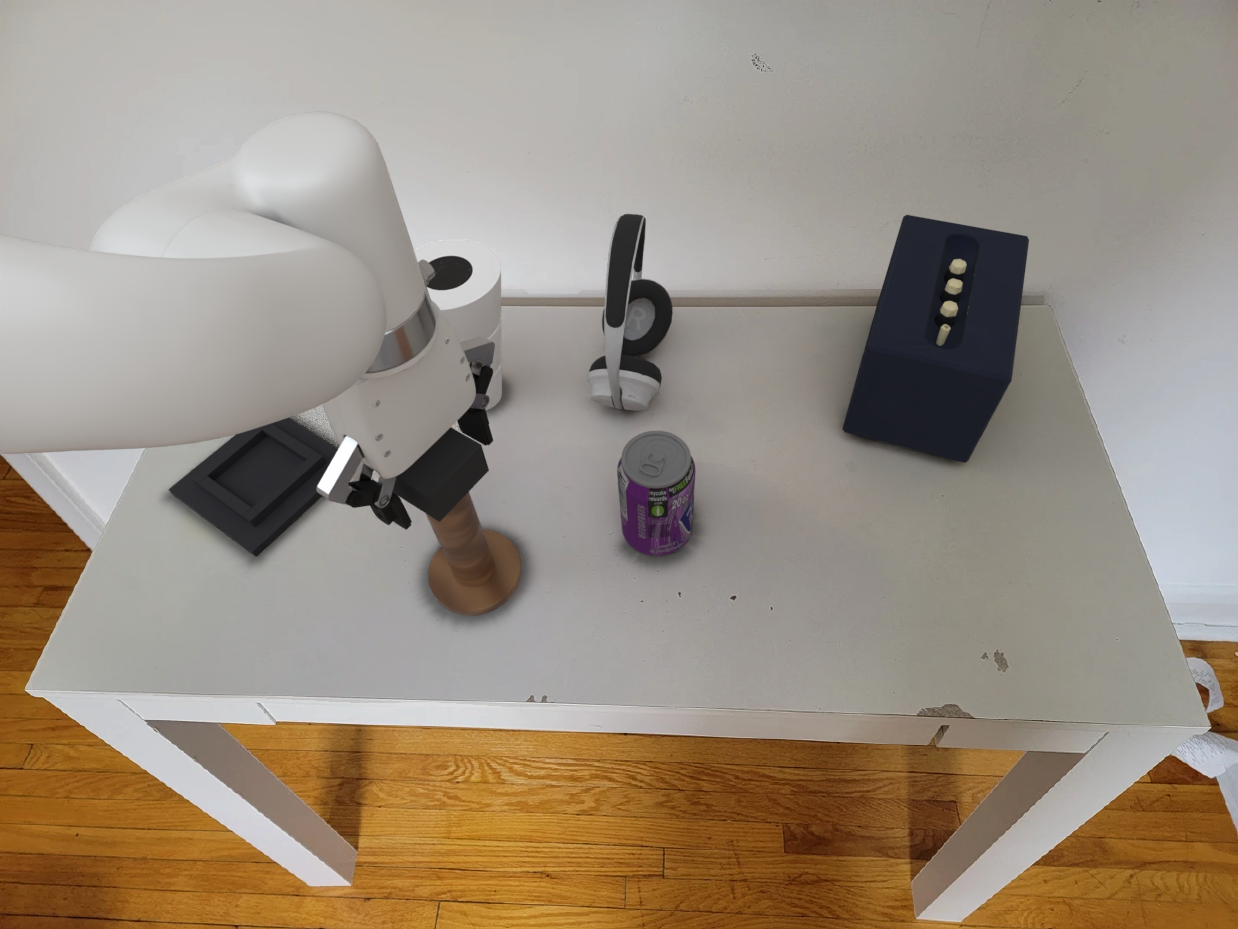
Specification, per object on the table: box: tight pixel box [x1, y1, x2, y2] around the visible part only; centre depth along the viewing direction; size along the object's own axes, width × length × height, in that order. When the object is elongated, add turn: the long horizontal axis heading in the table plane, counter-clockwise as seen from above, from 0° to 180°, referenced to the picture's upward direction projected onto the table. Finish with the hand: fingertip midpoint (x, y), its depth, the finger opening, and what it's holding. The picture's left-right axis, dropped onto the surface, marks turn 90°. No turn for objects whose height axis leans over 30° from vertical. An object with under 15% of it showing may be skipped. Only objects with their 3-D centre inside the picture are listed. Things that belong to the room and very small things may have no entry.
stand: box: [425, 491, 523, 617], centre depth 69 cm, size 9×9×16 cm
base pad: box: [168, 417, 339, 557], centre depth 82 cm, size 14×14×2 cm
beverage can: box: [616, 430, 696, 557], centre depth 72 cm, size 7×7×12 cm
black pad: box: [377, 426, 490, 522], centre depth 61 cm, size 6×6×4 cm
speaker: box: [842, 214, 1030, 464], centre depth 81 cm, size 22×13×15 cm, turn 159°
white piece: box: [413, 237, 503, 411], centre depth 82 cm, size 11×11×18 cm
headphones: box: [586, 213, 674, 411], centre depth 82 cm, size 19×8×20 cm, turn 172°
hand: (438, 476), depth 62 cm, fingers open, 9 cm apart
